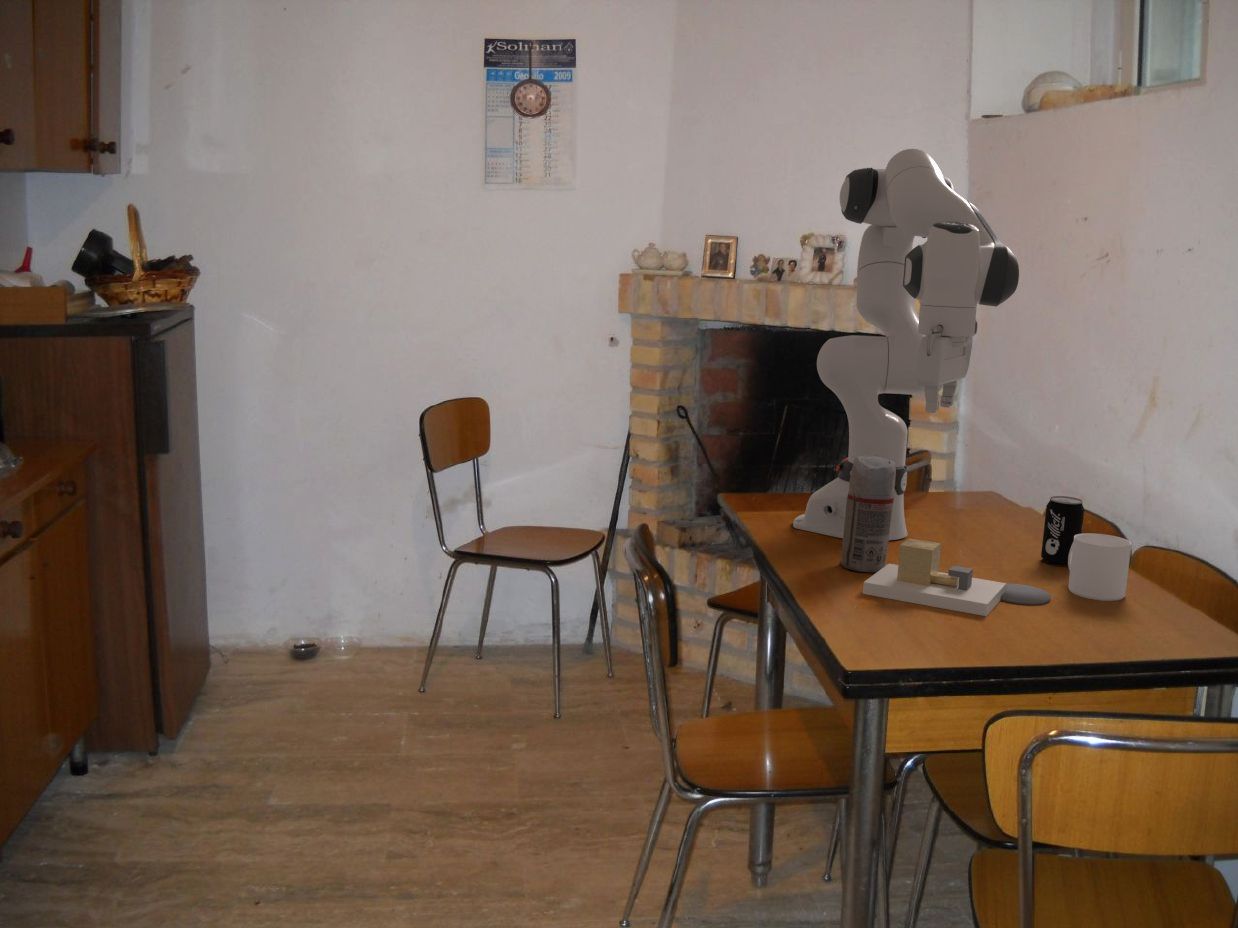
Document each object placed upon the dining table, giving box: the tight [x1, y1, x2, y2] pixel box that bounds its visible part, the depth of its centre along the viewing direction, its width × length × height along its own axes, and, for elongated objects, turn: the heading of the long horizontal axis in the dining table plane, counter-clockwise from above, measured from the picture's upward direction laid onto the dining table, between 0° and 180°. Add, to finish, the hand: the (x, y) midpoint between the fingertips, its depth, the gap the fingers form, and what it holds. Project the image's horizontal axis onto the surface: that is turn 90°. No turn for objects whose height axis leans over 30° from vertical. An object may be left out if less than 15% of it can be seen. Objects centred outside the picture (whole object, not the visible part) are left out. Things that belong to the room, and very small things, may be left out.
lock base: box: [862, 563, 1007, 617], centre depth 199 cm, size 20×14×7 cm
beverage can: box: [1040, 495, 1085, 567], centre depth 222 cm, size 7×7×12 cm
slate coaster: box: [1000, 582, 1052, 606], centre depth 200 cm, size 10×10×1 cm
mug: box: [1067, 532, 1133, 602], centre depth 204 cm, size 12×9×9 cm
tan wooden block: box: [897, 538, 959, 587], centre depth 199 cm, size 9×5×6 cm, turn 61°
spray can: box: [839, 454, 896, 573], centre depth 212 cm, size 8×8×20 cm
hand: (939, 409), depth 196 cm, fingers open, 8 cm apart
